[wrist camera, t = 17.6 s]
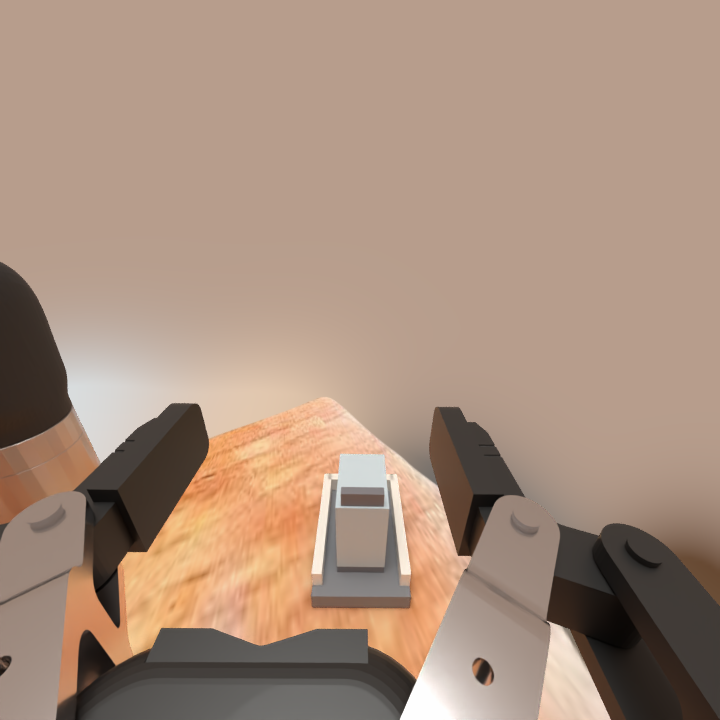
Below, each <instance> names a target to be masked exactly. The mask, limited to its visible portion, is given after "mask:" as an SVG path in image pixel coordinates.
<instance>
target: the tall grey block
mask: <svg viewBox="0 0 720 720" xmlns="http://www.w3.org/2000/svg"><path fill="white" fill-rule="evenodd" d="M335 514H336V547H337V572H361V573H384V567H385V554H386V542H387V530H388V518H389V500H388V490H387V479H386V468H385V457H384V455H376V454H340V461H339V473H338V484H337V495H336V506H335Z"/></svg>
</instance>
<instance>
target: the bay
mask: <svg viewBox="0 0 720 720" xmlns="http://www.w3.org/2000/svg"><path fill="white" fill-rule="evenodd" d="M386 479H387V490H389V491H390V500H391V509H392V518H393V528H394V537H395V546H396V555H397V565H398V574H399V583H400V586H410V579H411V570H410V563H409V556H408V549H407V542H406V535H405V528H404V521H403V514H402V507H401V500H400V493H399V486H398V479H397V474H386ZM337 484H338V474H325V476H324V484H323V491H322V499H321V506H320V514H319V521H318V529H317V537H316V544H315V552H314V559H313V567H312V584H313V585H322V584H323V574H324V564H325V554H326V543H327V533H328V523H329V513H330V503H331V493H332V490H337Z"/></svg>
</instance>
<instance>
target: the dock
mask: <svg viewBox="0 0 720 720" xmlns="http://www.w3.org/2000/svg"><path fill="white" fill-rule="evenodd" d="M336 495H337V490H332V493H331V503H330V513H329V523H328V533H327V543H326V554H325V564H324V574H323V584H322V585H313V586H312V594H311V599H312V607H348V608H409V606H410V600H411V594H410V586H400V583H399V574H398V565H397V555H396V546H395V537H394V528H393V518H392V509H391V500H390V491H389V490H388V500H389V518H388V530H387V542H386V554H385V567H384V573H361V572H337V547H336V514H335V506H336Z"/></svg>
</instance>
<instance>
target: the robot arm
mask: <svg viewBox="0 0 720 720" xmlns="http://www.w3.org/2000/svg"><path fill="white" fill-rule="evenodd" d="M429 446H430V447H429V451H430V459H431V463H432V467H433V470H434V474H435V477H436V481H437V484H438V488H439V491H440V495H441V498H442V502H443V505H444V509H445V512H446V516H447V519H448V523H449V526H450V530H451V533H452V537H453V540H454V543H455V547H456V550H457V554H458V556H471V557H472V558H471V561H470V563H469V565H468V567H467V569H465V570H464V572H463V574H462V576H461V578H460V580H459V583H458V585H457V587H456V590H455V592H454V594H453V597H452V599H451V601H450V604H449V606H448V608H447V611H446V613H445V615H444V618H443V620H442V622H441V625H440V627H439V630H438V632H437V634H436V637H435V639H434V641H433V644H432V646H431V648H430V651H429V653H428V655H427V658H426V660H425V662H424V665H423V667H422V669H421V672H420V674H419V676H418V679H417V680H416V679H415V677H414V676H413V675H412V674H411V673H410V672H408V671H407V670H406V669H405V668H404V667H403V666H402V665H401V664H400V663H398V662H397V661H396V660H394V659H393V658H391V657H390V656H388V655H386V654H384V653H383V652H381V651H379V650H377V649H374V648H372V647H369V646H368V630H367V629H316V630H312V631H309V632H306V633H303V634H300V635H296V636H293V637H290V638H287V639H284V640H281V641H277V642H274V643H271V644H268V645H264V646H258V645H255V644H252V643H249V642H247V641H244V640H241V639H239V638H236V637H234V636H231V635H228V634H226V633H223V632H220V631H218V630H215V629H212V628H161V630H160V632H159V634H158V636H157V639H156V641H155V643H154V645H153V647H152V648H151V649H148V650H146V651H144V652H141V653H139V654H137V655H134V656H133V653H132V650H131V647H130V643H129V639H128V631H127V616H126V600H125V584H124V569H123V566H122V564H121V561H122V559H123V558H124V556H125V555H126V554H127V552H147V551H148V549H149V547H150V546H151V544H152V543H153V541H154V539H155V538H156V536H157V535H158V533H159V531H160V530H161V528H162V527H163V525H164V523H165V522H166V520H167V519H168V517H169V516H170V514H171V512H172V511H173V509H174V508H175V506H176V504H177V503H178V501H179V500H180V498H181V496H182V495H183V493H184V492H185V490H186V488H187V487H188V485H189V484H190V482H191V480H192V479H193V477H194V476H195V474H196V472H197V471H198V469H199V468H200V466H201V464H202V463H203V461H204V460H205V458H206V456H207V453H208V449H209V439H208V435H207V431H206V428H205V424H204V420H203V416H202V412H201V408H200V407H199V405H198V404H189V403H187V404H186V403H181V404H180V403H174V404H170V405H169V406H168V407H167V408H166V409H165V410H164V411H163V412H162V413H161V414H160V415H159V416H158V417H157V418H154V419H152V420H150V421H149V422H147V423H145V424H144V425H142V426H140V427H139V428H137V429H136V430H135V431H134V432H133V433H132V434H131V435H130V436H129V437H128V438H127V439H126V441H125V442H123V443H122V444H121V445H120V446H119V447H118V448H117V449H116V450H115V453H111V454H110V456H108V458H106V459H105V460H104V461H103V462H102V463H100V461H99V459H98V457H97V455H96V453H95V451H94V449H93V447H92V444H91V442H90V440H89V438H88V436H87V434H86V432H85V430H84V428H83V426H82V424H81V422H80V420H79V418H78V416H77V414H76V411H75V409H74V407H73V405H72V403H71V400H70V398H69V396H68V390H67V374H66V370H65V366H64V364H63V361H62V359H61V356H60V353H59V351H58V348H57V346H56V343H55V340H54V337H53V335H52V332H51V329H50V327H49V324H48V321H47V319H46V316H45V314H44V311H43V309H42V307H41V305H40V303H39V301H38V299H37V297H36V295H35V294H34V292H33V291H32V289H31V288H30V286H29V285H28V284H27V283H26V281H25V280H24V279H23V278H22V277H21V276H20V275H19V274H18V273H16V272H15V271H14V270H13V269H11V268H10V267H8V266H7V265H5V264H3V263H1V262H0V720H538V714H539V708H540V701H541V695H542V688H543V682H544V675H545V669H546V662H547V656H548V649H549V642H550V624H549V623H548V622H547V621H549V622H552V623H555V624H557V625H560V626H563V627H565V628H568V629H570V630H571V633H572V635H573V637H574V639H575V642H576V644H577V646H578V648H579V650H580V653H581V655H582V657H583V659H584V661H585V664H586V666H587V668H588V670H589V672H590V675H591V677H592V679H593V681H594V683H595V686H596V688H597V690H598V692H599V694H600V697H601V699H602V701H603V703H604V705H605V707H606V710H607V712H608V714H609V716H610V718H611V720H720V606H719V605H718V604H717V603H716V601H715V600H714V599H713V598H712V597H711V596H710V594H709V593H708V592H707V591H706V590H705V589H704V588H703V586H702V585H701V584H700V583H699V582H698V581H697V579H696V578H695V577H694V576H693V575H692V574H691V572H690V571H689V570H688V569H687V568H686V567H685V565H683V563H682V562H681V561H680V560H679V559H678V557H677V556H676V555H675V554H674V553H673V552H672V551H671V550H670V549H669V548H668V547H667V546H665V545H664V544H663V543H662V542H660V541H659V540H658V539H656V538H655V537H653V536H651V535H650V534H648V533H646V532H644V531H642V530H640V529H638V528H635V527H632V526H629V525H625V524H609V525H607V526H605V527H604V528H603V530H602V531H601V533H600V535H599V536H597V535H594V534H591V533H587V532H584V531H580V530H576V529H573V528H569V527H566V526H563V525H560V524H558V523H556V521H555V520H554V518H553V517H552V516H551V515H550V513H549V512H548V511H547V510H546V509H544V508H543V507H542V506H540V505H539V504H537V503H536V502H534V501H532V500H530V499H527V498H525V496H524V494H523V493H522V491H521V489H520V488H519V486H518V484H517V482H516V481H515V479H514V477H513V476H512V474H511V472H510V470H509V469H508V467H507V465H506V464H505V462H504V460H503V458H502V457H500V453H499V451H498V450H497V448H496V447H495V446H494V443H493V441H492V440H491V438H490V436H489V434H488V433H487V432H486V431H485V430H484V429H483V428H481V427H480V426H479V425H478V424H477V423H475V422H467V421H466V419H465V417H464V415H463V413H462V411H461V410H460V408H459V407H436V408H435V411H434V416H433V423H432V430H431V437H430V444H429Z"/></svg>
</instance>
